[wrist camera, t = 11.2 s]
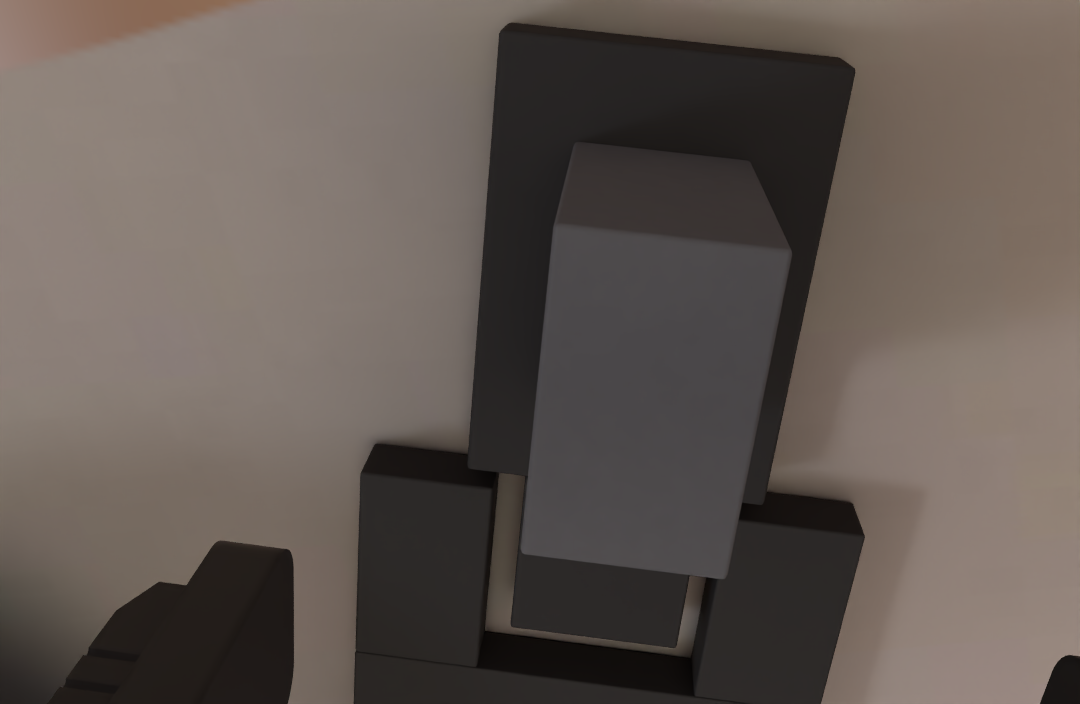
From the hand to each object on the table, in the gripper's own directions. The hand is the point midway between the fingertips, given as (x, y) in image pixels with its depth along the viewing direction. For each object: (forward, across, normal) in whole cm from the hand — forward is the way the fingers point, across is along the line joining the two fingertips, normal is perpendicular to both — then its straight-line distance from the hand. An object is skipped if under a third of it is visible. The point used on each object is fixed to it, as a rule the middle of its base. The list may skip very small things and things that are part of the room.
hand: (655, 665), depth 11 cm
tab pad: (+14, 0, +2) cm, 14 cm away
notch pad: (+14, 0, +13) cm, 19 cm away
